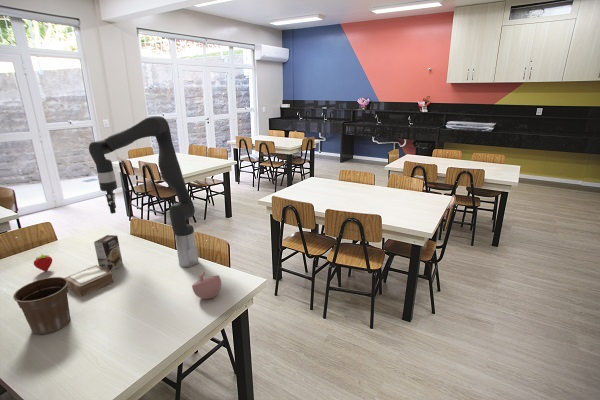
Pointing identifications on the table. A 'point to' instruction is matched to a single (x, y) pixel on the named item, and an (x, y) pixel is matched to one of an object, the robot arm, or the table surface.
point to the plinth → (89, 280)
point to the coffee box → (108, 252)
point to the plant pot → (45, 304)
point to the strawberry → (43, 262)
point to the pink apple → (207, 286)
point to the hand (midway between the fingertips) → (113, 210)
